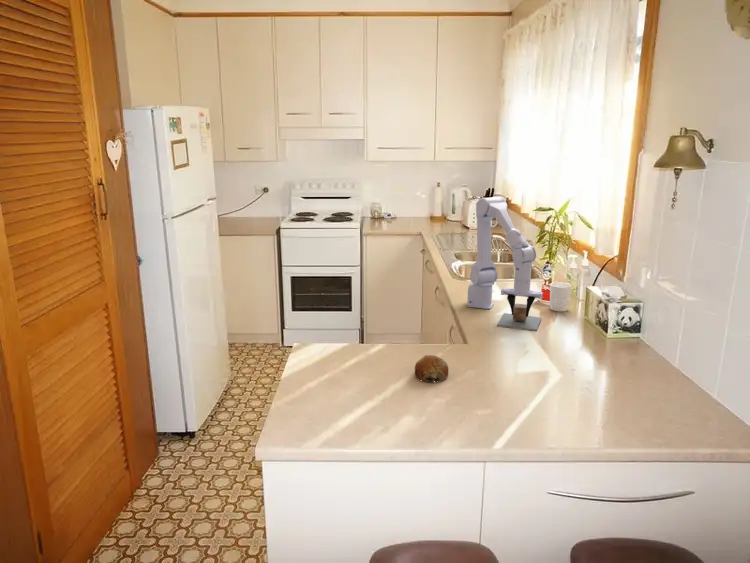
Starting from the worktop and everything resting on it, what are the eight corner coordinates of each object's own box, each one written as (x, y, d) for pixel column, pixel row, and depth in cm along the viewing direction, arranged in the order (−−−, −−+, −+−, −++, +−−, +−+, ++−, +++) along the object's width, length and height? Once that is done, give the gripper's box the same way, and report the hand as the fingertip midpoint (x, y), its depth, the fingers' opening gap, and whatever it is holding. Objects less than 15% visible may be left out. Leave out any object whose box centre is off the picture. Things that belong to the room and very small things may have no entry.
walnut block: (512, 319, 208) (513, 306, 206) (514, 316, 212) (515, 303, 210) (525, 321, 206) (526, 308, 205) (527, 317, 210) (527, 304, 209)
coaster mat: (496, 326, 205) (497, 324, 205) (503, 314, 218) (503, 313, 218) (536, 331, 200) (536, 329, 200) (541, 319, 213) (541, 317, 213)
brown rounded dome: (450, 386, 167) (454, 359, 168) (440, 385, 157) (445, 356, 158) (418, 380, 171) (423, 354, 172) (407, 379, 161) (412, 351, 162)
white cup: (566, 306, 228) (568, 282, 225) (571, 312, 220) (573, 287, 217) (546, 305, 228) (548, 281, 226) (550, 311, 221) (552, 287, 218)
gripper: (500, 280, 204) (498, 315, 207) (541, 284, 198) (539, 320, 202) (503, 275, 210) (501, 310, 214) (544, 279, 205) (541, 314, 208)
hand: (520, 315), depth 208 cm, fingers closed on walnut block, 4 cm apart
